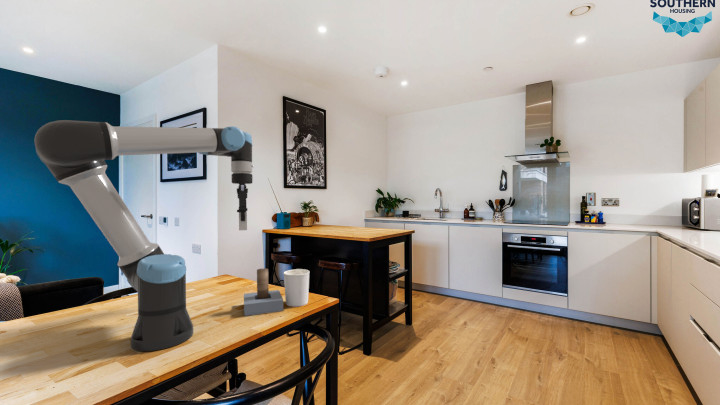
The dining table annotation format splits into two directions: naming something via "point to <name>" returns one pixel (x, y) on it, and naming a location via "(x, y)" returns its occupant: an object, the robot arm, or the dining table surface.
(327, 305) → the dining table surface
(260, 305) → the socket block
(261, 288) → the peg
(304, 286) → the candle holder
